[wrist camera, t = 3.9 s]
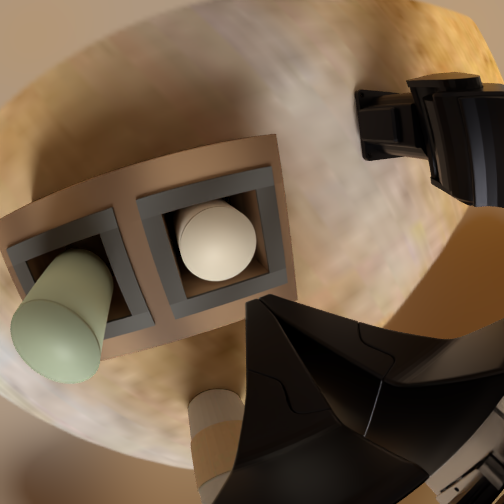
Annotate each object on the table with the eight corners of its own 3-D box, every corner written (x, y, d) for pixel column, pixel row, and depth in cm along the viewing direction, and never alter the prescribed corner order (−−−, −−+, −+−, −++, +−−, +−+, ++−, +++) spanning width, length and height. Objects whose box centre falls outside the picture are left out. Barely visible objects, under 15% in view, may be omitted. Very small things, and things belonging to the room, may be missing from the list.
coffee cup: (171, 429, 26) (202, 541, 13) (173, 377, 24) (211, 523, 10) (246, 423, 30) (295, 520, 17) (263, 372, 27) (334, 489, 14)
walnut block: (241, 138, 18) (277, 133, 13) (263, 264, 22) (299, 301, 17) (31, 202, 15) (-11, 224, 9) (79, 319, 19) (63, 371, 13)
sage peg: (98, 238, 12) (69, 289, 7) (124, 304, 14) (117, 374, 9) (38, 260, 11) (-6, 314, 7) (67, 321, 13) (44, 388, 8)
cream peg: (223, 185, 19) (249, 198, 14) (234, 238, 20) (261, 268, 15) (166, 200, 18) (171, 219, 13) (181, 253, 19) (191, 290, 14)
